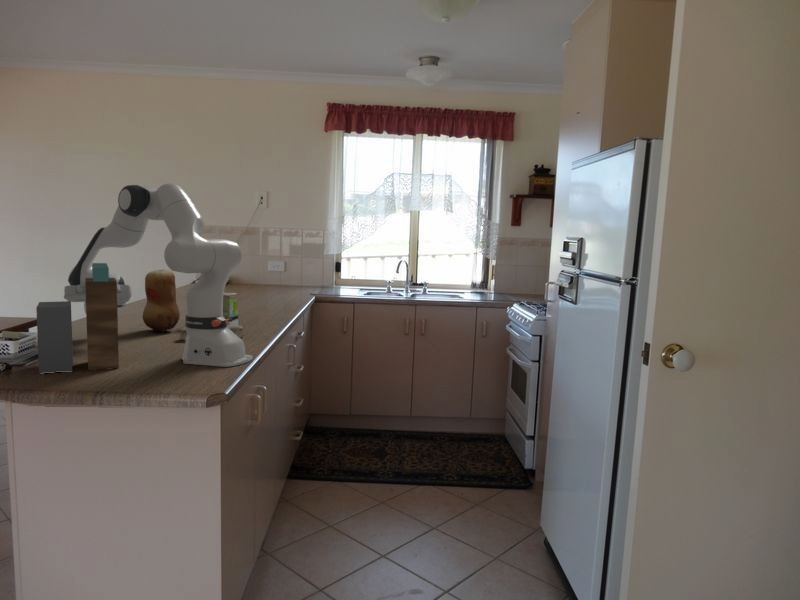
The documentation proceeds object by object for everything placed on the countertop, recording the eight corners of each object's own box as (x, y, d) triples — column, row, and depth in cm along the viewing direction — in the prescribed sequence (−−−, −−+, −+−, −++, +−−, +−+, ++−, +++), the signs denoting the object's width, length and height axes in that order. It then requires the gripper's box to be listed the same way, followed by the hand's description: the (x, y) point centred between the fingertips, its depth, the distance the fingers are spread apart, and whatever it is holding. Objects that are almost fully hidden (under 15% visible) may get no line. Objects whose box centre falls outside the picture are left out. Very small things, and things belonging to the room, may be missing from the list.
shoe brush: (241, 335, 227) (241, 323, 226) (246, 338, 220) (246, 326, 220) (178, 339, 215) (177, 326, 214) (181, 342, 208) (181, 329, 208)
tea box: (238, 326, 245) (238, 292, 244) (229, 330, 236) (229, 295, 234) (205, 324, 247) (205, 291, 245) (194, 328, 237) (194, 293, 235)
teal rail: (92, 275, 179) (92, 263, 179) (106, 275, 181) (106, 263, 181) (93, 281, 162) (92, 267, 161) (108, 281, 164) (108, 267, 163)
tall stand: (88, 361, 174) (85, 278, 171) (116, 359, 178) (114, 277, 175) (88, 370, 164) (85, 281, 161) (118, 368, 168) (116, 281, 165)
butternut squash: (135, 332, 223) (134, 269, 220) (159, 327, 236) (158, 267, 233) (164, 335, 219) (163, 271, 216) (187, 330, 232) (186, 269, 229)
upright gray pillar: (42, 365, 169) (39, 302, 166) (73, 362, 172) (70, 301, 170) (39, 374, 158) (36, 307, 156) (72, 372, 162) (69, 306, 160)
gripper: (63, 291, 195) (62, 276, 183) (129, 289, 205) (131, 275, 193) (64, 308, 193) (62, 294, 182) (130, 306, 203) (132, 292, 192)
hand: (99, 284), depth 188 cm, fingers open, 8 cm apart
